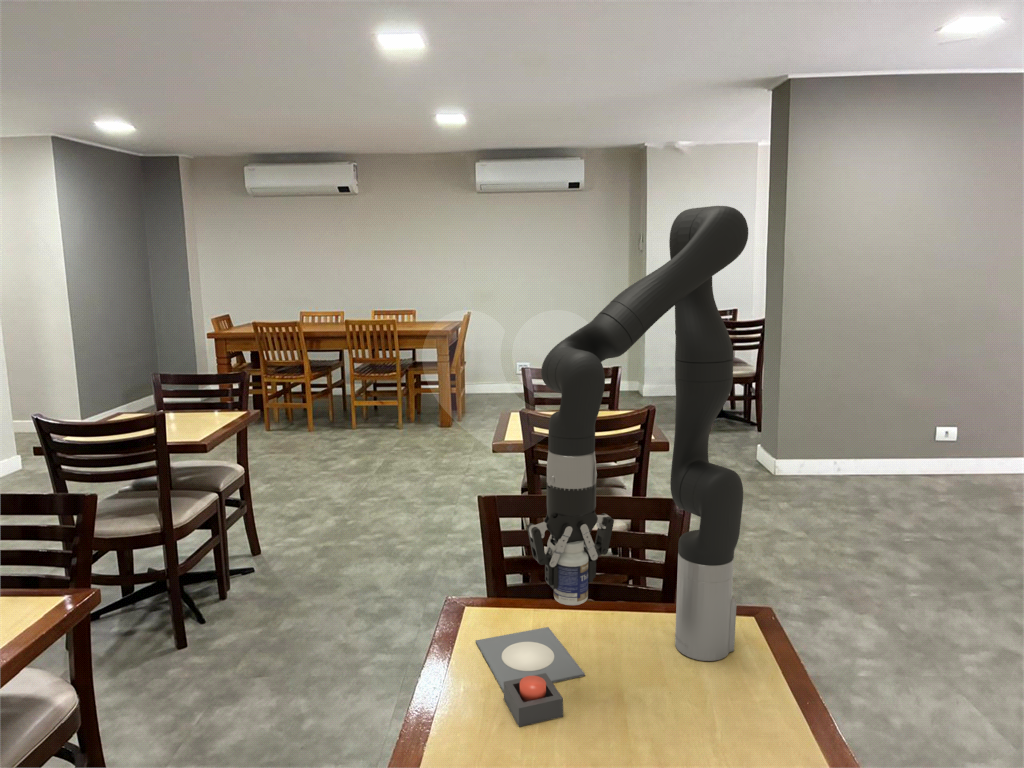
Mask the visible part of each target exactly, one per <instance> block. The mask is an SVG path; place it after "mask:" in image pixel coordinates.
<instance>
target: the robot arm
mask: <svg viewBox="0 0 1024 768" xmlns="http://www.w3.org/2000/svg"><path fill="white" fill-rule="evenodd" d="M668 240H669V241H668V242H669V256H670V259H669V260H668V261H667V262H665V264H663V265H661V266H659V267H657V269H655V270H654V271H652V272H650V273H649V274H647V275H645V276H644V277H642V278H641V279H639V280H637V281H635V282H634V283H632V284H631V285H629V286H628V287H626V288H625V289H624V290H622V291H621V292H619V293H618V295H616V296H615V297H614V298H613V299H612V300H611V301H609V303H608V304H607V305H606V306H605V307H604V308H602V310H601V311H600V312H599V313H598V314H597V315H596V316H594V318H593V319H592V320H591V321H589V322H588V323H587V324H586V325H584V326H582V327H580V328H578V329H577V330H576V331H574V332H573V333H571V334H570V335H568V336H567V337H565V338H564V339H562V340H561V341H560V342H558V343H557V344H556V345H555V346H554V347H552V349H551V350H550V351H548V353H547V355H546V356H545V357H544V360H543V362H542V364H541V368H540V369H541V370H540V371H541V372H540V374H541V379H542V381H543V383H544V385H546V387H547V388H549V389H550V390H552V391H554V392H556V393H559V394H561V396H560V397H561V398H560V405H559V410H557V411H555V412H554V413H552V414H551V416H550V417H549V420H548V433H547V434H548V438H547V439H548V444H547V445H548V446H547V447H548V453H547V459H546V516H545V518H544V520H543V521H542V522H539V523H537V524H534V523H531V522H530V523H529V524H528V525H527V526H526V527H527V528H526V530H527V534H528V539H529V545H530V548H531V549H530V550H531V554H532V557H533V559H534V560H535V561H537V563H538V564H539V565H540V566H543V565H544V581H545V583H546V584H547V585H548V586H549V587H550V588H551V589H552V590H554V589H557V588H558V566H557V565H556V564H557V562H558V559H559V557H560V554H562V553H563V551H564V548H565V546H566V543H570V542H577V541H583V540H584V551H585V552H586V553H587V555H588V560H589V562H588V584H590V583H593V582H594V579H595V578H596V576H597V560H598V558H599V557H600V556H601V555H603V556H604V555H607V554H608V552H609V549H610V544H611V539H612V538H611V537H612V534H613V528H614V523H615V522H614V521H615V520H614V518H612V517H611V516H610V515H608V514H607V513H605V512H603V513H601V514H597V513H596V508H597V477H598V473H597V460H596V459H597V458H596V422H597V419H598V416H599V412H600V409H601V404H602V401H603V396H604V391H605V385H606V384H605V383H606V377H605V376H606V374H605V371H604V370H605V369H604V366H603V364H602V362H604V361H605V360H607V359H614V358H619V357H621V356H623V355H624V354H625V353H626V352H628V350H630V348H632V346H633V345H635V344H636V343H637V341H639V340H640V338H642V337H643V336H644V334H646V332H647V331H649V329H651V327H653V325H654V324H656V323H657V322H658V321H659V320H660V319H661V318H662V317H663V316H664V315H665V314H666V313H668V312H669V311H670V310H671V309H672V308H674V321H675V323H674V326H675V327H674V330H675V334H674V335H675V347H674V348H675V350H674V354H675V355H674V367H675V368H674V385H675V413H674V414H675V418H674V421H675V422H674V441H673V449H672V458H671V459H672V461H671V470H670V480H669V481H670V494H671V498H672V500H673V502H674V504H675V506H677V507H678V508H679V509H681V510H683V511H684V512H687V513H690V514H693V515H695V516H697V517H699V519H700V520H699V522H700V523H699V528H698V529H694V530H688V531H687V532H684V533H682V534H681V535H680V537H679V539H678V545H677V547H678V550H677V551H678V553H677V575H676V576H677V577H676V578H677V579H676V580H677V581H676V583H677V584H676V606H675V607H676V609H675V610H676V611H675V633H674V637H675V638H674V647H675V648H676V649H677V651H678V652H679V653H681V654H682V655H684V656H686V657H687V658H690V659H693V660H697V661H701V662H702V661H703V662H713V661H714V662H715V661H720V660H722V659H725V658H726V657H727V656H728V655H729V653H730V652H734V651H735V641H736V638H735V637H736V622H737V621H736V620H737V619H736V618H737V599H736V598H735V597H733V583H734V582H733V580H734V559H735V550H736V547H737V544H738V542H739V539H740V533H741V523H742V522H741V521H742V515H743V513H742V512H743V504H744V486H743V485H744V484H743V481H742V478H741V477H740V474H738V473H737V472H736V471H734V470H733V469H730V468H728V467H725V466H722V465H719V464H715V463H713V462H710V460H709V440H710V432H711V428H712V426H713V425H714V422H715V421H716V419H717V417H718V415H719V414H720V413H721V411H722V409H723V408H724V406H725V404H726V403H727V401H728V398H729V396H730V395H731V392H732V388H733V381H734V380H733V379H734V349H733V342H732V340H731V337H730V333H729V331H728V329H727V327H726V325H725V323H724V320H723V318H722V316H721V314H720V310H719V309H718V306H717V304H716V300H715V296H714V289H713V288H714V287H713V277H714V276H715V275H716V274H718V273H719V272H720V271H722V270H723V269H725V268H726V267H728V266H729V265H730V264H731V263H733V262H734V261H736V260H737V259H738V257H739V256H740V255H741V254H742V253H743V252H744V250H745V248H746V246H747V242H748V240H749V227H748V221H747V219H746V217H745V216H744V214H743V213H742V212H741V211H740V210H738V209H736V208H735V207H732V206H729V205H710V206H702V207H693V208H688V209H684V210H683V211H681V212H680V213H679V214H678V215H677V216H676V217H675V218H674V220H673V222H672V224H671V227H670V232H669V239H668ZM595 526H596V528H597V530H596V533H595V535H596V536H595V540H593V538H592V535H591V533H592V530H593V529H594V528H595ZM546 531H548V533H549V534H550V535H549V537H548V540H547V544H546V545H547V547H546V549H545V548H544V543H543V539H544V538H545V532H546Z"/></svg>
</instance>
